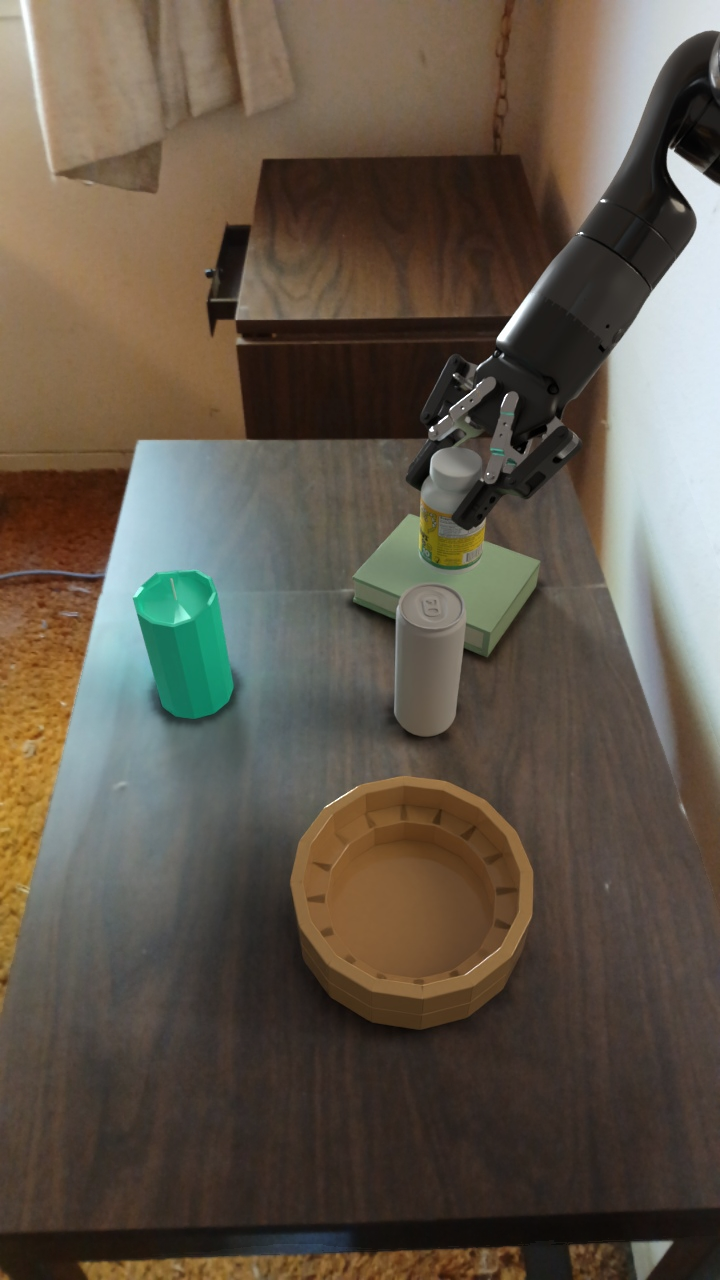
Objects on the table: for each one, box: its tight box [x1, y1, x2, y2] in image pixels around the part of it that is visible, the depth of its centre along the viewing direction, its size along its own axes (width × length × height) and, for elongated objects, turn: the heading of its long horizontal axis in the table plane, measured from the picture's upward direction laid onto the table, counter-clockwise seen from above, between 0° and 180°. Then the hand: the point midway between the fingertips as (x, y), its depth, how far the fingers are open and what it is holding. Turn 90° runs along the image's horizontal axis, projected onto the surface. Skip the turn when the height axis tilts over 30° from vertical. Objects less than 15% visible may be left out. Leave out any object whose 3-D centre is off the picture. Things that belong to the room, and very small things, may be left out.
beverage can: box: [393, 583, 466, 738], centre depth 65 cm, size 5×5×12 cm
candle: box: [132, 569, 235, 720], centre depth 67 cm, size 6×6×12 cm
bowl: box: [289, 775, 534, 1031], centre depth 56 cm, size 15×15×5 cm
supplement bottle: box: [419, 446, 487, 575], centre depth 72 cm, size 5×5×10 cm
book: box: [352, 513, 541, 658], centre depth 77 cm, size 13×10×3 cm
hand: (436, 505), depth 70 cm, fingers closed on supplement bottle, 5 cm apart
